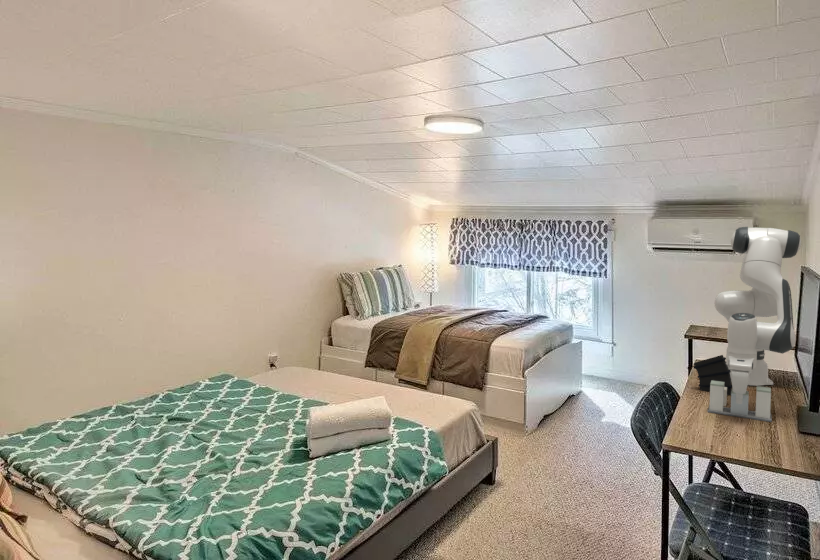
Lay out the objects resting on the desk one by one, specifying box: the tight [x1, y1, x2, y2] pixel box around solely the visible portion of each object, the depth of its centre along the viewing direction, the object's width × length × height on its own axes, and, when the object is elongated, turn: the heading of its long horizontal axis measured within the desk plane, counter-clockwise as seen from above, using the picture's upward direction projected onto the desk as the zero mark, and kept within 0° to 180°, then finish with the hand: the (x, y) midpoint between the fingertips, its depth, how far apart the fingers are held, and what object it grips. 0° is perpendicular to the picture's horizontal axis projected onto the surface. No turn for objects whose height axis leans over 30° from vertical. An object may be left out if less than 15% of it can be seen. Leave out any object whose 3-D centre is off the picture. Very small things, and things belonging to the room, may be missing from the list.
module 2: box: [730, 388, 750, 415], centre depth 178 cm, size 5×4×8 cm
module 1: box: [708, 380, 725, 411], centre depth 181 cm, size 4×5×10 cm
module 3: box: [755, 385, 772, 419], centre depth 174 cm, size 4×5×10 cm
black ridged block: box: [693, 354, 733, 396], centre depth 204 cm, size 4×13×15 cm, turn 49°
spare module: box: [724, 387, 728, 407], centre depth 190 cm, size 5×4×6 cm
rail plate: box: [707, 404, 773, 423], centre depth 178 cm, size 18×7×1 cm, turn 56°
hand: (739, 399), depth 178 cm, fingers open, 8 cm apart
